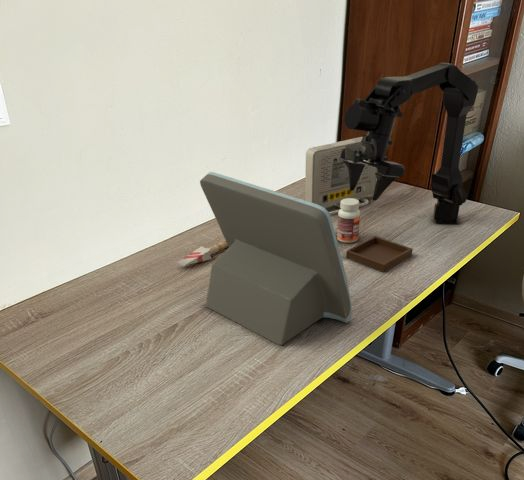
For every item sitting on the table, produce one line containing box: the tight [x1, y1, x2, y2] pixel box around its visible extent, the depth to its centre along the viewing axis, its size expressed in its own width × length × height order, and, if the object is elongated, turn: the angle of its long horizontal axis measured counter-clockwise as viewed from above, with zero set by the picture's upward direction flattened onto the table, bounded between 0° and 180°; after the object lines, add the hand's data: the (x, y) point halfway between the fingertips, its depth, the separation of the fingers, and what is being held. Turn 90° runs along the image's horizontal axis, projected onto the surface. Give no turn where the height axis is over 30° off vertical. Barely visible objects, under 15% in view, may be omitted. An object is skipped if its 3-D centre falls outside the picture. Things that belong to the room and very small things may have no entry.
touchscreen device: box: [199, 171, 353, 346], centre depth 122 cm, size 35×20×30 cm, turn 45°
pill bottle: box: [336, 198, 361, 244], centre depth 158 cm, size 6×6×11 cm
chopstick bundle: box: [176, 240, 229, 267], centre depth 154 cm, size 4×3×20 cm
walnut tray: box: [345, 235, 414, 273], centre depth 151 cm, size 13×12×2 cm
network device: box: [304, 136, 378, 216], centre depth 176 cm, size 26×9×20 cm, turn 120°
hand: (362, 195), depth 147 cm, fingers open, 9 cm apart
